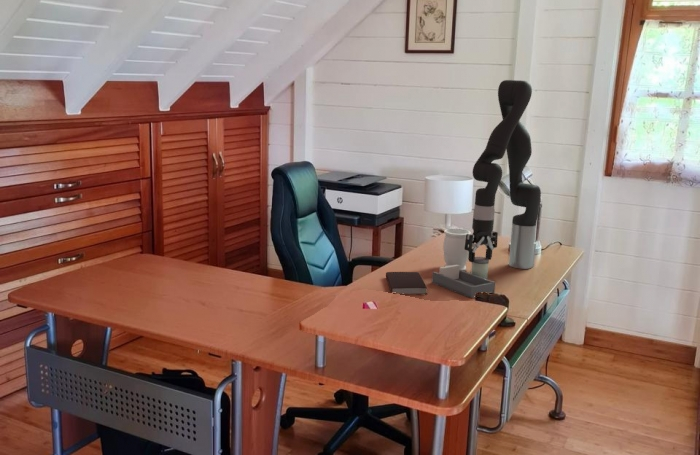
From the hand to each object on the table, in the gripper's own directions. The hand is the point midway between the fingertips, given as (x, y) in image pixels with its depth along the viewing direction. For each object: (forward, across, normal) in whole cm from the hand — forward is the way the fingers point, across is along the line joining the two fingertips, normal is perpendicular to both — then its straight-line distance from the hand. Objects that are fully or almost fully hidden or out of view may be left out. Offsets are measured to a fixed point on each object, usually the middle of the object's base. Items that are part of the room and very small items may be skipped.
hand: (479, 260), depth 249 cm
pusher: (+7, +12, -3) cm, 14 cm away
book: (+9, +28, -8) cm, 30 cm away
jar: (+8, -4, -16) cm, 18 cm away
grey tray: (+8, +12, +4) cm, 14 cm away
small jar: (+8, 0, 0) cm, 8 cm away
